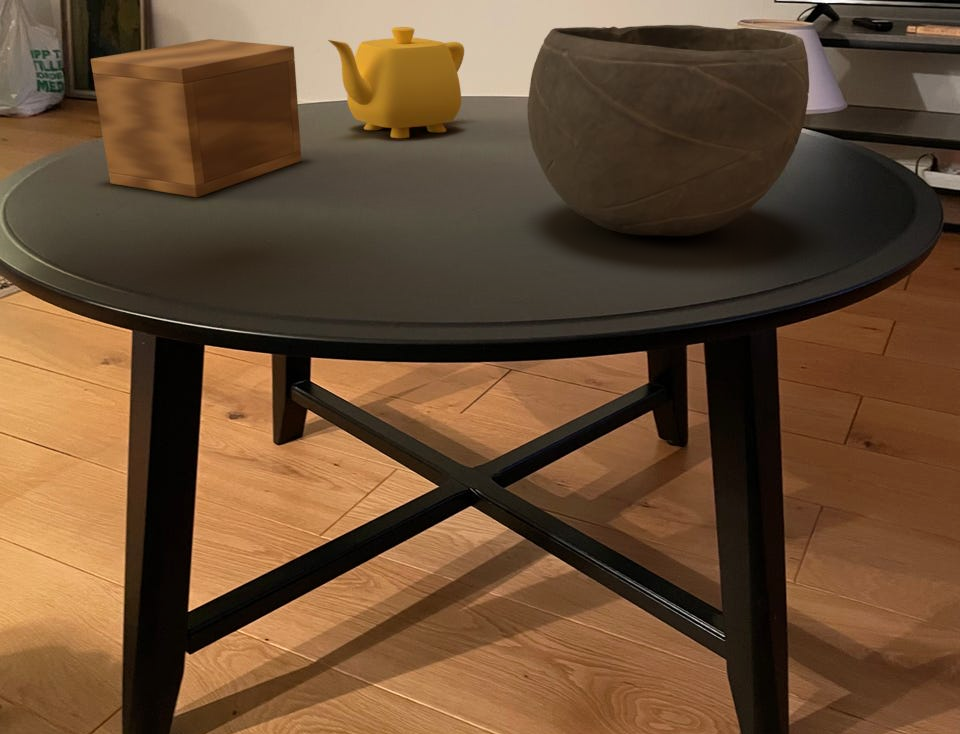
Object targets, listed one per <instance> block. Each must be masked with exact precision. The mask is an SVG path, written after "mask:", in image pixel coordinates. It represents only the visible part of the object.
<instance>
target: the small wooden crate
mask: <svg viewBox="0 0 960 734" xmlns="http://www.w3.org/2000/svg"><path fill="white" fill-rule="evenodd" d="M90 64H91V70H92V71H91V72H92V78H93V82H94V83H93V84H94V90H95V95H96V102H97V107H98V114H99V121H100V127H101V133H102V140H103V145H104V152H105V158H106V165H107V171H108V177H109V184H112V185H117V186H124V187H130V188H136V189H142V190H148V191H154V192H161V193H167V194H173V195H179V196H186V197H192V198H199V197H203V196H205V195H208V194H211V193H215V192H218V191H220V190H223V189H226V188H228V187H231V186H234V185H238V184H240V183H243V182H246V181H249V180H251V179H254V178H257V177H260V176H262V175H265V174H269V173H271V172H274V171H276V170H279V169H283V168H286V167H288V166H291V165H294V164H297V163H299V162H301V161H302V149H301V148H302V147H301V134H300V133H301V132H300V131H301V130H300V118H299V103H298V102H299V101H298V91H297V90H298V88H297V87H298V86H297V74H296V60H295V47H294V46H291V45H280V44H271V43H270V44H268V43H267V44H266V43H260V42H259V43H258V42H246V41H237V40H236V41H235V40H224V39H214V38H207V39H202V40H196V41H191V42H185V43H178V44H177V43H176V44H173V45H172V44H171V45H166V46H160V47H155V48H154V47H153V48H147V49H143V50H142V49H141V50H135V51H130V52H125V53H124V52H123V53H119V54H118V53H117V54H112V55H107V56H101V57H100V56H99V57H94V58H90Z"/></svg>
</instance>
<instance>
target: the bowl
mask: <svg viewBox="0 0 960 734" xmlns="http://www.w3.org/2000/svg"><path fill="white" fill-rule="evenodd" d="M809 93H810V72H809V59H808V53H807V50H806V45H805V42H804V39H803V38H801V36H800V37H799V35H796V34H793V33H789V32H786V31H780V30H773V29H772V30H771V29H764V28H750V27H739V28H724V27H715V26H714V27H713V26H712V27H711V26H704V25H703V26H702V25H695V24H657V25H638V26H636V25H635V26H625V27H618V26H617V27H616V26H611V27H606V26H603V27H597V26H596V27H595V26H594V27H593V26H582V27H581V26H579V27H578V26H575V27H573V26H572V27H554V28H551V30H550V31H549V32H548V34H547V35H546V36H545V38H544V40H543V43H542V44H541V46H540V49H539V50H538V54H537V56H536V59H535V62H534V64H533V67H532V73H531V78H530V83H529V91H528V99H527V125H528V132H529V138H530V142H531V146H532V147H531V148H532V150H533V152H534V154H535V157H536V160H537V162H538V164H539V165H540V168H541V170H542V172H543V173H544V175H545V178H546V179H547V181H548V182H549V184H550V185H551V186H552V188H553V190H554V191H555V192H556V193H557V195H558V196H559V197H560V198H561V200H563V202H565V204H566V205H567V206H568V207H570V208H571V209H572V210H573V211H574V212H575V213H576V214H578V215H580V216H581V217H583V218H585V219H586V220H588V221H591V222H592V223H594V224H596V225H597V226H599V227H601V228H604V229H606V230H609V231H614V232H617V233H620V234H626V235H633V236H642V237H643V236H645V237H646V236H647V237H648V236H662V237H691V236H692V237H693V236H698V235H701V234H705V233H708V232H712V231H714V230H717V229H720V228H722V227H724V226H725V225H727V224H729V223H730V222H733V220H735V219H737V218H738V217H739V216H741V215H742V214H743V213H745V212H746V211H748V210H749V209H751V208H753V206H755V205H756V204H757V203H758V202H759V201H760V200H761V199H762V198H763V197H764V196H765V195H766V194H767V193H768V192H769V191H770V190H771V188H772V187H773V186H774V185H775V183H776V182H777V181H778V179H779V178H780V177H781V175H782V174H783V172H784V170H785V168H786V166H788V163H789V161H790V160H791V158H792V155H793V153H794V152H795V150H796V146H797V144H798V141H799V139H800V136H801V133H802V131H803V128H804V125H805V120H806V117H807V116H806V115H807V111H808V110H807V109H808V105H809Z"/></svg>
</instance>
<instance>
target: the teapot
mask: <svg viewBox="0 0 960 734" xmlns="http://www.w3.org/2000/svg"><path fill="white" fill-rule="evenodd" d="M391 33H392V36H393V37H392V38H381V39H380V38H379V39H371V40H365V41H361V42H360V43H359V44H358V47H357V49H356V52H355V54H354V51H353V49H352V48H351V46H350V45H349V44H348V43H346V42H344V41H338V40H333V39H332V40H331V39H327V41H328V42H329V43H330V44H331V45H333V46H334V47H335V48H336V50H337V52H338V55H339V58H340V62H341V77H342V83H343V87H344V90H345V91H346V94H347V95H346V96H347V98H346V99H347V100H346V101H347V106H348V108H349V111H350V112H351V114H352V117H353V118H354V119H355V120H357V121H360V122H363V123H366V124H365V125H364V127H363V129H364V130H365V131H366V130H367V131H378V130H379V131H380V130H383V128H387V129H389V128H390V130H391V131H390V137H391V138H393V139H406V138H407V139H408V138H410V136H411V135H410V128H418V127H426V130H427V132H430V133H445V132H447V129H446V127H445V126H444V124H443V123H448V122H451V121H453V120H455V119H456V117H457V115H458V113H459V112H460V109H461V107H462V92H461V85H460V79H459V74H458V72H459V70H460V69H461V66H462V63H463V60H464V56H465V47H464V45H463V44H462V43H461V42H458V41H448V42H443V41H440V40H439V41H438V40H433V39H427V38H419V37H414V34H415V28H413V27H410V26H395V27H392V28H391Z"/></svg>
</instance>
